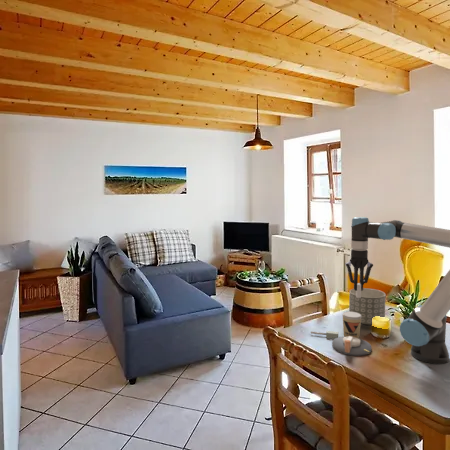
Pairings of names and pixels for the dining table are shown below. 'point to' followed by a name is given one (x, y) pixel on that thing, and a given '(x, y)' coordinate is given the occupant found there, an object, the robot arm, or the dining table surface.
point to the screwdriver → (328, 334)
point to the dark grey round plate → (354, 351)
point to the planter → (367, 304)
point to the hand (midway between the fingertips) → (358, 296)
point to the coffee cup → (351, 324)
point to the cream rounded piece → (350, 343)
